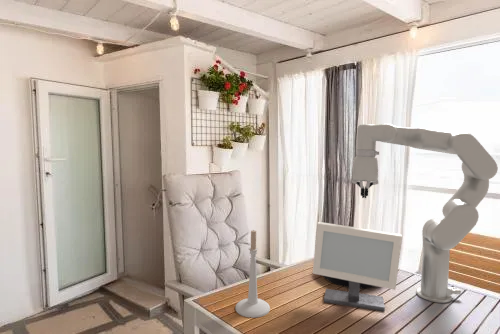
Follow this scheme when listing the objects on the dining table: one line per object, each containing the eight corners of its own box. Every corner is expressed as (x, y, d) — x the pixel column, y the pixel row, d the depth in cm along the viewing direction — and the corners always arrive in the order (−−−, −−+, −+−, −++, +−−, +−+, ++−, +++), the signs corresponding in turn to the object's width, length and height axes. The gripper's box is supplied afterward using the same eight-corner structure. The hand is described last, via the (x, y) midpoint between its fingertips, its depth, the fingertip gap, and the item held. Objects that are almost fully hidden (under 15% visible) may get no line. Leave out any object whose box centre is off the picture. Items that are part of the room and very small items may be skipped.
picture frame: (394, 286, 123) (401, 234, 121) (395, 289, 120) (402, 236, 118) (313, 270, 132) (318, 221, 130) (312, 273, 129) (317, 223, 127)
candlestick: (273, 303, 128) (274, 226, 126) (265, 320, 116) (266, 236, 113) (241, 298, 132) (242, 224, 129) (230, 314, 119) (231, 232, 117)
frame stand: (382, 300, 131) (385, 243, 129) (384, 311, 123) (387, 250, 121) (325, 292, 138) (327, 238, 136) (324, 302, 129) (325, 244, 127)
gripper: (384, 154, 140) (382, 197, 141) (347, 153, 144) (345, 195, 145) (385, 154, 132) (383, 200, 134) (347, 154, 137) (345, 198, 138)
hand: (364, 197), depth 140 cm, fingers closed
